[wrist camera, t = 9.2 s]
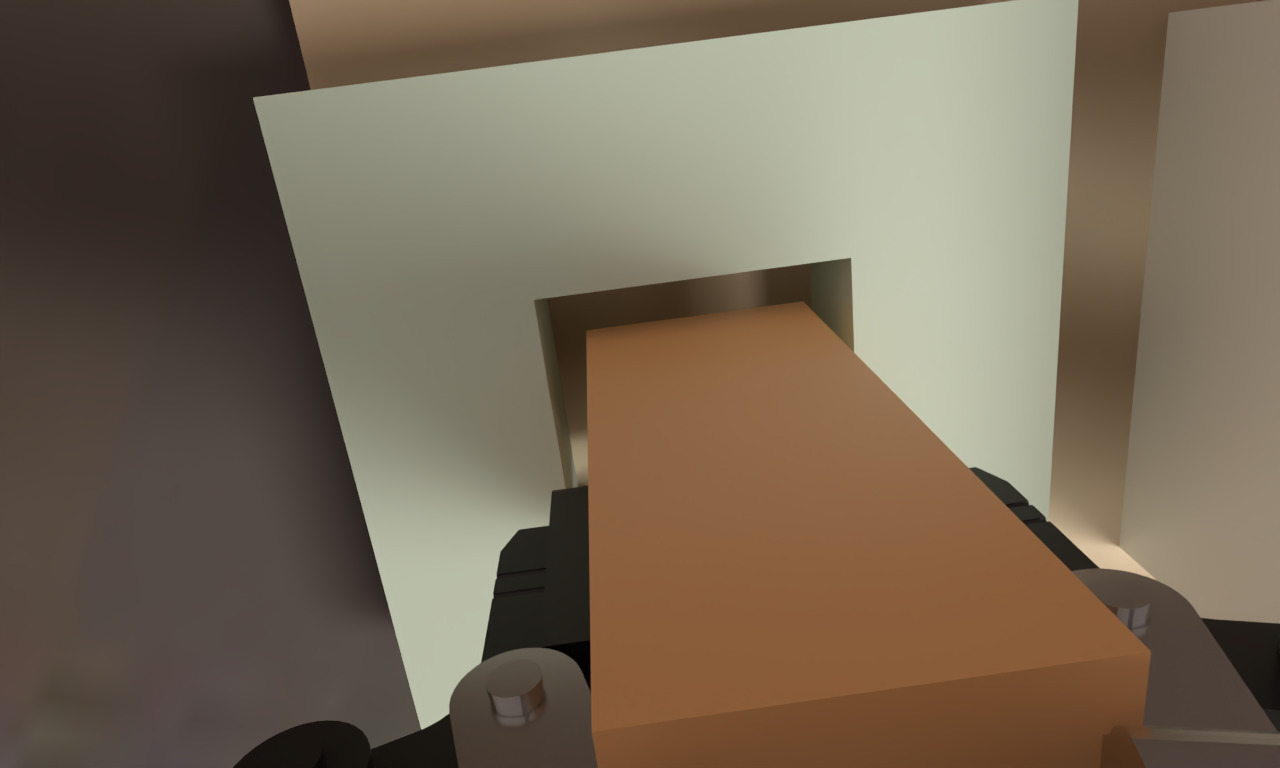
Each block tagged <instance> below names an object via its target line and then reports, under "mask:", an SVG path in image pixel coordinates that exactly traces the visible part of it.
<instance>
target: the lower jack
mask: <svg viewBox="0 0 1280 768" xmlns="http://www.w3.org/2000/svg"><path fill="white" fill-rule="evenodd" d="M1078 1H1079V0H1014V1H1007V2H999V3H991V4H983V5H975V6H967V7H960V8H952V9H944V10H936V11H928V12H920V13H912V14H905V15H897V16H889V17H881V18H873V19H865V20H858V21H850V22H842V23H834V24H826V25H818V26H810V27H803V28H795V29H787V30H779V31H771V32H763V33H755V34H748V35H740V36H732V37H724V38H716V39H708V40H701V41H693V42H685V43H677V44H669V45H661V46H653V47H646V48H638V49H630V50H622V51H614V52H606V53H599V54H591V55H583V56H575V57H567V58H559V59H551V60H544V61H536V62H528V63H520V64H512V65H504V66H497V67H489V68H481V69H473V70H465V71H457V72H449V73H442V74H434V75H426V76H418V77H410V78H402V79H395V80H387V81H379V82H371V83H363V84H355V85H347V86H340V87H332V88H324V89H316V90H308V91H300V92H292V93H285V94H277V95H269V96H261V97H253V100H254V104H255V108H256V111H257V115H258V119H259V123H260V126H261V130H262V134H263V138H264V141H265V145H266V149H267V153H268V156H269V160H270V164H271V168H272V171H273V175H274V179H275V183H276V186H277V190H278V194H279V198H280V201H281V205H282V209H283V213H284V216H285V220H286V224H287V228H288V231H289V235H290V239H291V243H292V246H293V250H294V254H295V258H296V261H297V265H298V269H299V273H300V276H301V280H302V284H303V288H304V291H305V295H306V299H307V303H308V306H309V310H310V314H311V318H312V321H313V325H314V329H315V333H316V336H317V340H318V344H319V348H320V351H321V355H322V359H323V363H324V366H325V370H326V374H327V378H328V381H329V385H330V389H331V393H332V396H333V400H334V404H335V408H336V411H337V415H338V419H339V423H340V426H341V430H342V434H343V438H344V441H345V445H346V449H347V453H348V456H349V460H350V464H351V468H352V471H353V475H354V479H355V483H356V486H357V490H358V494H359V498H360V501H361V505H362V509H363V513H364V516H365V520H366V524H367V528H368V531H369V535H370V539H371V543H372V546H373V550H374V554H375V558H376V561H377V565H378V569H379V572H380V576H381V580H382V584H383V587H384V591H385V595H386V599H387V602H388V606H389V610H390V614H391V617H392V621H393V625H394V629H395V632H396V636H397V640H398V644H399V647H400V651H401V655H402V659H403V662H404V666H405V670H406V674H407V677H408V681H409V685H410V689H411V692H412V696H413V700H414V704H415V707H416V711H417V715H418V719H419V722H420V726H421V730H422V729H424V728H426V727H428V726H430V725H432V724H434V723H436V722H437V721H439V720H441V719H442V718H444V717H445V716H446V715H448V714H449V703H450V699H451V695H452V693H453V691H454V689H455V687H456V686H457V684H458V683H459V682H460V680H461V679H462V678H463V677H464V676H465V675H466V674H467V673H468V672H469V671H471V670H472V669H473V668H474V667H476V666H477V665H479V664H480V663H481V660H482V655H483V649H484V643H485V637H486V632H487V626H488V620H489V614H490V609H491V603H492V599H494V597H493V591H494V586H495V580H496V579H497V575H496V574H497V568H498V563H499V557H500V551H501V550H502V549H503V548H504V547H505V546H506V544H507V543H508V542H509V541H510V540H511V538H512V537H513V536H514V535H515V534H516V532H517V531H518V530H520V529H528V528H535V527H542V526H549V521H550V508H551V494H552V491H553V490H560V489H567V488H575V487H578V482H577V476H576V470H575V464H574V458H573V452H572V446H571V440H570V433H569V427H568V421H567V415H566V409H565V403H564V397H563V390H562V384H561V378H560V372H559V366H558V360H557V354H556V348H555V341H554V335H553V329H552V323H551V317H550V311H549V305H548V298H552V297H559V296H567V295H574V294H582V293H590V292H597V291H605V290H612V289H620V288H627V287H635V286H642V285H650V284H657V283H665V282H672V281H680V280H688V279H695V278H703V277H710V276H718V275H725V274H733V273H740V272H748V271H755V270H763V269H770V268H778V267H785V266H793V265H801V264H808V263H809V270H810V290H811V310H812V311H813V312H814V313H815V314H816V315H817V316H818V317H819V318H820V319H821V320H822V321H823V322H824V323H825V324H826V325H827V326H828V327H829V328H830V329H831V330H832V331H833V332H834V333H835V334H836V335H837V336H838V337H839V338H840V339H841V340H842V341H843V342H844V343H845V344H846V345H847V346H848V347H849V348H850V349H851V350H852V351H853V352H854V353H855V354H856V355H857V356H858V357H859V358H860V359H861V360H862V361H863V362H864V363H865V364H866V365H867V366H868V367H869V368H870V369H871V370H872V371H873V372H874V373H875V374H876V375H877V376H878V377H879V378H880V379H881V380H882V381H883V382H884V383H885V384H886V385H887V386H888V387H889V388H890V389H891V390H892V391H893V392H894V393H895V394H896V395H897V396H898V397H899V398H900V399H901V400H902V401H903V402H904V403H905V404H906V405H907V406H908V407H909V408H910V409H911V410H912V411H913V412H914V413H915V414H916V415H917V416H918V417H919V418H920V419H921V420H922V421H923V422H924V423H925V424H926V426H927V427H928V428H929V429H930V430H931V431H932V432H933V433H934V434H935V435H936V436H937V437H938V438H939V439H940V440H941V441H942V442H943V443H944V444H945V445H946V446H947V447H948V448H949V449H950V450H951V451H952V452H953V453H954V454H955V455H956V456H957V457H958V458H959V459H960V460H961V461H962V462H963V463H964V464H965V465H966V466H967V467H968V468H972V467H977V468H979V469H981V470H984V471H986V472H988V473H990V474H992V475H995V476H997V477H999V478H1001V479H1003V480H1006V481H1008V482H1009V483H1010V484H1011V485H1012V486H1013V487H1014V488H1015V489H1016V490H1017V491H1019V492H1020V493H1021V494H1022V495H1023V496H1024V497H1025V498H1026V499H1027V500H1028V501H1029V505H1033V506H1034V507H1035V508H1037V509H1038V510H1039V511H1040V512H1041V513H1042V514H1043V515H1044V516H1045V517H1046V521H1047V522H1048V517H1049V500H1050V483H1051V466H1052V449H1053V431H1054V414H1055V397H1056V380H1057V363H1058V345H1059V328H1060V311H1061V294H1062V277H1063V259H1064V242H1065V225H1066V208H1067V190H1068V173H1069V156H1070V139H1071V122H1072V104H1073V87H1074V70H1075V53H1076V36H1077V18H1078Z"/></svg>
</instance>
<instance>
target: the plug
mask: <svg viewBox="0 0 1280 768" xmlns="http://www.w3.org/2000/svg"><path fill="white" fill-rule="evenodd" d="M586 353H587V427H588V502H589V576H590V651H591V726H592V737H593V743H594V748H595V754H596V760H597V765H598V768H1100V761H1101V751H1102V740H1103V734H1109V733H1110V731H1111V730H1112V728H1113V727H1114V726H1116V725H1124V726H1143V719H1144V710H1145V701H1146V692H1147V684H1148V675H1149V666H1150V657H1151V651H1150V650H1149V649H1148V648H1147V647H1146V646H1145V645H1144V644H1143V643H1142V642H1141V641H1140V640H1139V639H1138V638H1137V637H1136V636H1135V635H1134V634H1133V633H1132V632H1131V631H1130V630H1129V629H1128V628H1127V627H1126V626H1125V625H1124V624H1123V623H1122V622H1121V621H1120V620H1119V619H1118V618H1117V617H1116V616H1115V615H1114V614H1113V613H1112V612H1111V611H1110V610H1109V609H1108V608H1107V607H1106V606H1105V605H1104V604H1103V603H1102V602H1101V601H1100V600H1099V599H1098V598H1097V597H1096V596H1095V595H1094V594H1093V593H1092V592H1091V591H1090V590H1089V589H1088V588H1087V587H1086V586H1085V585H1084V584H1083V583H1082V582H1081V581H1080V580H1079V579H1078V578H1077V577H1076V576H1075V575H1074V574H1073V573H1072V572H1071V571H1070V569H1069V568H1068V567H1067V566H1066V565H1065V564H1064V563H1063V562H1062V561H1061V560H1060V559H1059V558H1058V557H1057V556H1056V555H1055V554H1054V553H1053V552H1052V551H1051V550H1050V549H1049V548H1048V547H1047V546H1046V545H1045V544H1044V543H1043V542H1042V541H1041V540H1040V539H1039V538H1038V537H1037V536H1036V535H1035V534H1034V533H1033V532H1032V531H1031V530H1030V529H1029V528H1028V527H1027V526H1026V525H1025V524H1024V523H1023V522H1022V521H1021V520H1020V519H1019V518H1018V517H1017V516H1016V515H1015V514H1014V513H1013V512H1012V511H1011V510H1010V509H1009V508H1008V507H1007V506H1006V505H1005V504H1004V503H1003V502H1002V501H1001V500H1000V499H999V498H998V497H997V496H996V495H995V494H994V493H993V492H992V491H991V490H990V489H989V488H988V487H987V486H986V485H985V484H984V483H983V482H982V481H981V480H980V479H979V478H978V477H977V476H976V475H975V474H974V473H973V472H972V471H971V470H970V469H969V468H968V467H967V466H966V465H965V464H964V463H963V462H962V461H961V460H960V459H959V458H958V457H957V456H956V455H955V454H954V453H953V452H952V451H951V450H950V449H949V448H948V447H947V446H946V445H945V444H944V443H943V442H942V441H941V440H940V439H939V438H938V437H937V436H936V435H935V434H934V433H933V432H932V431H931V430H930V429H929V428H928V427H927V426H926V424H925V423H924V422H923V421H922V420H921V419H920V418H919V417H918V416H917V415H916V414H915V413H914V412H913V411H912V410H911V409H910V408H909V407H908V406H907V405H906V404H905V403H904V402H903V401H902V400H901V399H900V398H899V397H898V396H897V395H896V394H895V393H894V392H893V391H892V390H891V389H890V388H889V387H888V386H887V385H886V384H885V383H884V382H883V381H882V380H881V379H880V378H879V377H878V376H877V375H876V374H875V373H874V372H873V371H872V370H871V369H870V368H869V367H868V366H867V365H866V364H865V363H864V362H863V361H862V360H861V359H860V358H859V357H858V356H857V355H856V354H855V353H854V352H853V351H852V350H851V349H850V348H849V347H848V346H847V345H846V344H845V343H844V342H843V341H842V340H841V339H840V338H839V337H838V336H837V335H836V334H835V333H834V332H833V331H832V330H831V329H830V328H829V327H828V326H827V325H826V324H825V323H824V322H823V321H822V320H821V319H820V318H819V317H818V316H817V315H816V314H815V313H814V312H813V311H812V310H811V309H810V308H809V307H808V306H807V305H806V304H805V303H804V302H803V301H801V302H794V303H787V304H779V305H772V306H764V307H757V308H749V309H742V310H734V311H727V312H719V313H712V314H705V315H697V316H690V317H682V318H675V319H667V320H660V321H652V322H645V323H637V324H630V325H623V326H615V327H608V328H600V329H593V330H586Z"/></svg>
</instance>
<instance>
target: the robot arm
mask: <svg viewBox="0 0 1280 768" xmlns="http://www.w3.org/2000/svg"><path fill="white" fill-rule="evenodd" d="M969 469H970V470H971V471H972V472H973V473H974V474H975V475H976V476H977V477H978V478H979V479H980V480H981V481H982V482H983V483H984V484H985V485H986V486H987V487H988V488H989V489H990V490H991V491H992V492H993V493H994V494H995V495H996V496H997V497H998V498H999V499H1000V500H1001V501H1002V502H1003V503H1004V504H1005V505H1006V506H1007V507H1008V508H1009V509H1010V510H1011V511H1012V512H1013V513H1014V514H1015V515H1016V516H1017V517H1018V518H1019V519H1020V520H1021V521H1022V522H1023V523H1024V524H1025V525H1026V526H1027V527H1028V528H1029V529H1030V530H1031V531H1032V532H1033V533H1034V534H1035V535H1036V536H1037V537H1038V538H1039V539H1040V540H1041V541H1042V542H1043V543H1044V544H1045V545H1046V546H1047V547H1048V548H1049V549H1050V550H1051V551H1052V552H1053V553H1054V554H1055V555H1056V556H1057V557H1058V558H1059V559H1060V560H1061V561H1062V562H1063V563H1064V564H1065V565H1066V566H1067V567H1068V568H1069V569H1070V571H1071V572H1072V573H1073V574H1074V575H1075V576H1076V577H1077V578H1078V579H1079V580H1080V581H1081V582H1082V583H1083V584H1084V585H1085V586H1086V587H1087V588H1088V589H1089V590H1090V591H1091V592H1092V593H1093V594H1094V595H1095V596H1096V597H1097V598H1098V599H1099V600H1100V601H1101V602H1102V603H1103V604H1104V605H1105V606H1106V607H1107V608H1108V609H1109V610H1110V611H1111V612H1112V613H1113V614H1114V615H1115V616H1116V617H1117V618H1118V619H1119V620H1120V621H1121V622H1122V623H1123V624H1124V625H1125V626H1126V627H1127V628H1128V629H1129V630H1130V631H1131V632H1132V633H1133V634H1134V635H1135V636H1136V637H1137V638H1138V639H1139V640H1140V641H1141V642H1142V643H1143V644H1144V645H1145V646H1146V647H1147V648H1148V649H1149V650H1150V651H1151V657H1150V666H1149V675H1148V684H1147V692H1146V701H1145V710H1144V719H1143V726H1124V725H1116V726H1114V727H1113V728H1112V730H1111V731H1110V733H1109V734H1103V740H1102V751H1101V761H1100V768H1280V624H1279V623H1264V622H1248V621H1233V620H1218V619H1208V618H1200V616H1199V615H1198V613H1197V612H1196V610H1195V609H1194V607H1193V606H1192V605H1191V604H1190V603H1189V601H1188V600H1187V599H1186V598H1184V597H1183V596H1182V595H1181V594H1180V593H1178V592H1177V591H1175V590H1174V589H1172V588H1171V587H1169V586H1167V585H1165V584H1163V583H1161V582H1159V581H1156V580H1154V579H1151V578H1149V577H1146V576H1143V575H1139V574H1136V573H1131V572H1127V571H1122V570H1114V569H1101V568H1099V567H1098V566H1097V565H1096V564H1095V563H1094V562H1093V561H1092V560H1090V559H1089V558H1088V557H1087V556H1086V555H1085V554H1084V553H1083V552H1082V551H1081V550H1080V549H1079V548H1078V547H1077V546H1076V545H1075V544H1074V543H1072V542H1071V541H1070V540H1069V539H1068V538H1067V537H1066V536H1065V535H1064V534H1063V533H1062V532H1061V531H1060V530H1059V529H1058V528H1057V527H1056V526H1054V525H1053V524H1052V523H1051V522H1050V521H1049V522H1047V521H1046V517H1045V516H1044V515H1043V514H1042V513H1041V512H1040V511H1039V510H1038V509H1037V508H1035V507H1034V506H1033V505H1029V501H1028V500H1027V499H1026V498H1025V497H1024V496H1023V495H1022V494H1021V493H1020V492H1019V491H1017V490H1016V489H1015V488H1014V487H1013V486H1012V485H1011V484H1010V483H1009V482H1008V481H1006V480H1003V479H1001V478H999V477H997V476H995V475H992V474H990V473H988V472H986V471H984V470H981V469H979V468H977V467H972V468H969ZM496 575H497V579H496V580H495V586H494V591H493V597H494V599H492V603H491V609H490V614H489V620H488V626H487V632H486V637H485V643H484V649H483V655H482V660H481V663H480V664H479V665H477V666H476V667H474V668H473V669H472V670H471V671H469V672H468V673H467V674H466V675H465V676H464V677H463V678H462V679H461V680H460V682H459V683H458V684H457V686H456V687H455V689H454V691H453V693H452V695H451V699H450V703H449V714H448V715H446V716H445V717H444V718H442V719H441V720H439V721H437V722H436V723H434V724H432V725H430V726H428V727H426V728H424V729H422V730H420V731H417V732H415V733H413V734H410V735H407V736H405V737H402V738H400V739H397V740H394V741H392V742H389V743H387V744H384V745H381V746H379V747H376V748H374V749H371V748H370V745H369V742H368V739H367V737H366V736H365V734H364V733H363V732H362V731H361V730H360V729H358V728H357V727H356V726H354V725H351V724H349V723H345V722H340V721H317V722H311V723H307V724H302V725H299V726H296V727H293V728H290V729H288V730H286V731H283V732H281V733H279V734H277V735H275V736H273V737H271V738H269V739H267V740H266V741H264V742H263V743H261V744H260V745H258V746H257V747H255V748H254V749H253V750H251V751H250V752H249V753H248V754H247V755H245V756H244V757H243V758H242V759H241V760H240V761H239V762H238V763H237V764H236V765H235V766H234V767H233V768H598V765H597V760H596V754H595V748H594V743H593V737H592V726H591V651H590V576H589V502H588V486H582V487H575V488H567V489H560V490H553V491H552V494H551V508H550V521H549V526H542V527H535V528H528V529H520V530H518V531H517V532H516V534H515V535H514V536H513V537H512V538H511V540H510V541H509V542H508V543H507V544H506V546H505V547H504V548H503V549H502V550H501V551H500V557H499V563H498V568H497V574H496Z"/></svg>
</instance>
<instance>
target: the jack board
mask: <svg viewBox="0 0 1280 768" xmlns="http://www.w3.org/2000/svg"><path fill="white" fill-rule="evenodd" d="M1007 1H1014V0H289V2H290V6H291V11H292V15H293V19H294V23H295V27H296V31H297V35H298V39H299V43H300V48H301V52H302V56H303V60H304V64H305V68H306V72H307V76H308V81H309V85H310V89H311V90H316V89H324V88H332V87H340V86H347V85H355V84H363V83H371V82H379V81H387V80H395V79H402V78H410V77H418V76H426V75H434V74H442V73H449V72H457V71H465V70H473V69H481V68H489V67H497V66H504V65H512V64H520V63H528V62H536V61H544V60H551V59H559V58H567V57H575V56H583V55H591V54H599V53H606V52H614V51H622V50H630V49H638V48H646V47H653V46H661V45H669V44H677V43H685V42H693V41H701V40H708V39H716V38H724V37H732V36H740V35H748V34H755V33H763V32H771V31H779V30H787V29H795V28H803V27H810V26H818V25H826V24H834V23H842V22H850V21H858V20H865V19H873V18H881V17H889V16H897V15H905V14H912V13H920V12H928V11H936V10H944V9H952V8H960V7H967V6H975V5H983V4H991V3H999V2H1007ZM1256 1H1264V0H1079V1H1078V18H1077V36H1076V53H1075V70H1074V87H1073V104H1072V122H1071V139H1070V156H1069V173H1068V190H1067V208H1066V225H1065V242H1064V259H1063V277H1062V294H1061V311H1060V328H1059V345H1058V363H1057V380H1056V397H1055V414H1054V431H1053V449H1052V466H1051V483H1050V500H1049V517H1048V522H1049V521H1050V522H1051V523H1052V524H1053V525H1054V526H1056V527H1057V528H1058V529H1059V530H1060V531H1061V532H1062V533H1063V534H1064V535H1065V536H1066V537H1067V538H1068V539H1069V540H1070V541H1071V542H1072V543H1074V544H1075V545H1076V546H1077V547H1078V548H1079V549H1080V550H1081V551H1082V552H1083V553H1084V554H1085V555H1086V556H1087V557H1088V558H1089V559H1090V560H1092V561H1093V562H1094V563H1095V564H1096V565H1097V566H1098V567H1099V568H1101V569H1114V570H1122V571H1127V572H1131V573H1136V574H1139V575H1143V576H1146V577H1149V578H1151V579H1154V580H1156V579H1155V578H1154V577H1153V576H1152V575H1151V574H1149V573H1148V572H1147V571H1146V570H1145V569H1144V568H1143V567H1141V566H1140V565H1139V564H1138V563H1137V562H1136V561H1135V560H1133V559H1132V558H1131V557H1130V556H1129V555H1128V554H1127V553H1125V552H1124V551H1123V550H1122V549H1121V548H1120V547H1119V542H1120V531H1121V521H1122V510H1123V499H1124V488H1125V478H1126V467H1127V456H1128V445H1129V435H1130V424H1131V413H1132V402H1133V392H1134V381H1135V370H1136V359H1137V348H1138V338H1139V327H1140V316H1141V305H1142V295H1143V284H1144V273H1145V262H1146V252H1147V241H1148V230H1149V219H1150V209H1151V198H1152V187H1153V176H1154V166H1155V155H1156V144H1157V133H1158V123H1159V112H1160V101H1161V90H1162V79H1163V69H1164V58H1165V47H1166V36H1167V26H1168V15H1169V13H1171V12H1178V11H1186V10H1194V9H1202V8H1210V7H1217V6H1225V5H1233V4H1241V3H1249V2H1256ZM801 301H803V302H804V303H805V304H806V305H807V306H808V307H809V308H810V309H811V290H810V270H809V263H808V264H801V265H793V266H785V267H778V268H770V269H763V270H755V271H748V272H740V273H733V274H725V275H718V276H710V277H703V278H695V279H688V280H680V281H672V282H665V283H657V284H650V285H642V286H635V287H627V288H620V289H612V290H605V291H597V292H590V293H582V294H574V295H567V296H559V297H552V298H548V305H549V311H550V317H551V323H552V329H553V335H554V341H555V348H556V354H557V360H558V366H559V372H560V378H561V384H562V390H563V397H564V403H565V409H566V415H567V421H568V427H569V433H570V440H571V446H572V452H573V458H574V464H575V470H576V476H577V482H578V487H582V486H588V427H587V353H586V330H593V329H600V328H608V327H615V326H623V325H630V324H637V323H645V322H652V321H660V320H667V319H675V318H682V317H690V316H697V315H705V314H712V313H719V312H727V311H734V310H742V309H749V308H757V307H764V306H772V305H779V304H787V303H794V302H801ZM1156 581H1157V580H1156Z"/></svg>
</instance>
